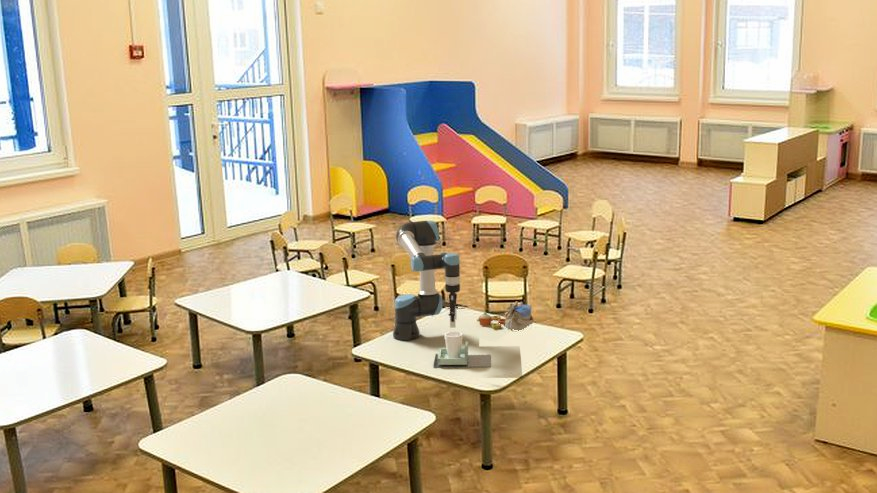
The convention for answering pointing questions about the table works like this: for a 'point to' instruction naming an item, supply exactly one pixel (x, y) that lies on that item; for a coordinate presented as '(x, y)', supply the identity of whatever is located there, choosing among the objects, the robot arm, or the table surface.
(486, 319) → the toy tea set
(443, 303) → the bird
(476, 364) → the rail
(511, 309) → the grey and blue lump
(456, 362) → the shallow mint tray
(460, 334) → the foam cup
